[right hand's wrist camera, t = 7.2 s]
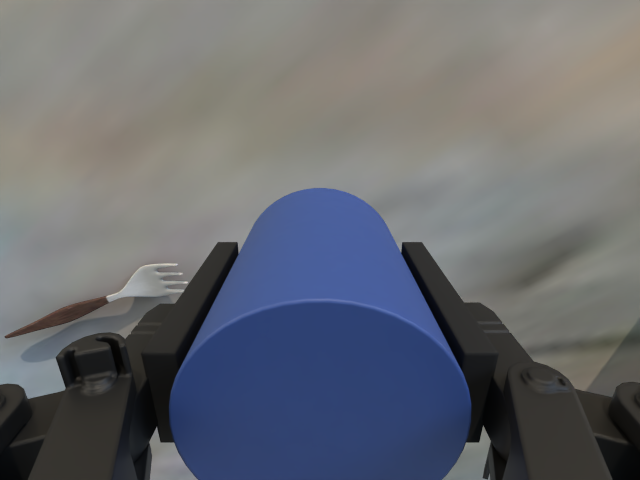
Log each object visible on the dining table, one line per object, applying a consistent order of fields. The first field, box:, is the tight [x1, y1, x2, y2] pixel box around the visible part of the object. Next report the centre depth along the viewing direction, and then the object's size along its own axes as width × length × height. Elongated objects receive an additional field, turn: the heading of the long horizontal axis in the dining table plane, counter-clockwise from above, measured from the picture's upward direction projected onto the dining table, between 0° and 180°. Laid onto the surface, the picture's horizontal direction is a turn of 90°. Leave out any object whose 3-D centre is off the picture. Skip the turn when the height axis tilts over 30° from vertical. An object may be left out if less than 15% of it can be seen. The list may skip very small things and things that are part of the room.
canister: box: [169, 188, 471, 480], centre depth 12 cm, size 6×6×9 cm
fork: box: [5, 264, 188, 338], centre depth 26 cm, size 3×16×2 cm, turn 111°
